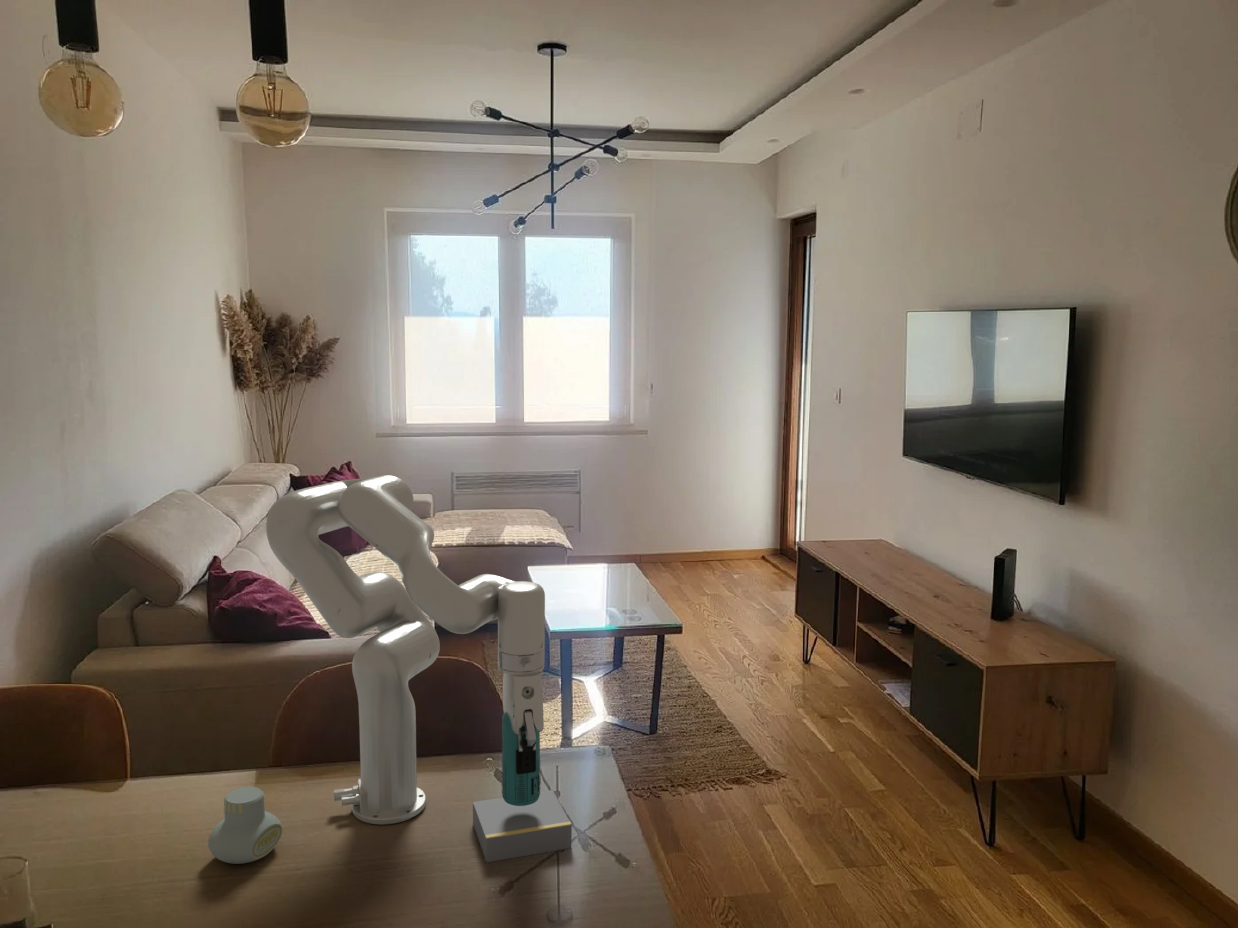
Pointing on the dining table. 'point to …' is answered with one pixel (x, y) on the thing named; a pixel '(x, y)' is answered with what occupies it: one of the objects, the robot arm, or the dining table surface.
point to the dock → (521, 827)
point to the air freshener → (244, 828)
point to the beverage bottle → (515, 785)
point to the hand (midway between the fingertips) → (520, 761)
